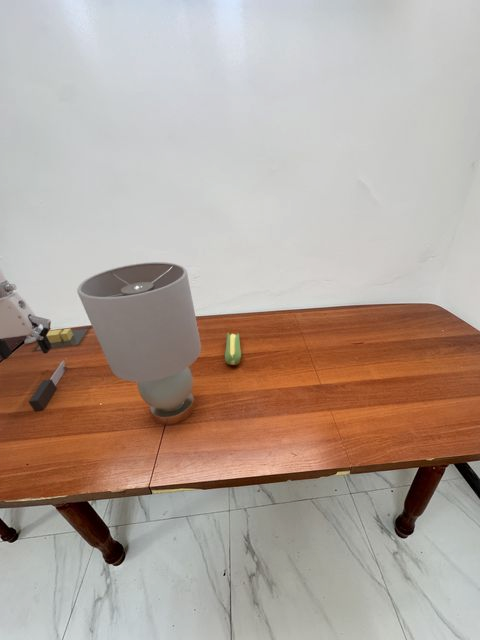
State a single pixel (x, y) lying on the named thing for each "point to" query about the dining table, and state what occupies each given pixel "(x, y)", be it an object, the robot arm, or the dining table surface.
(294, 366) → the dining table surface
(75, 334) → the slate board
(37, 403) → the knife
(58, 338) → the butter block
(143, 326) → the lamp
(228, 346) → the edible corn
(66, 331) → the butter slice
